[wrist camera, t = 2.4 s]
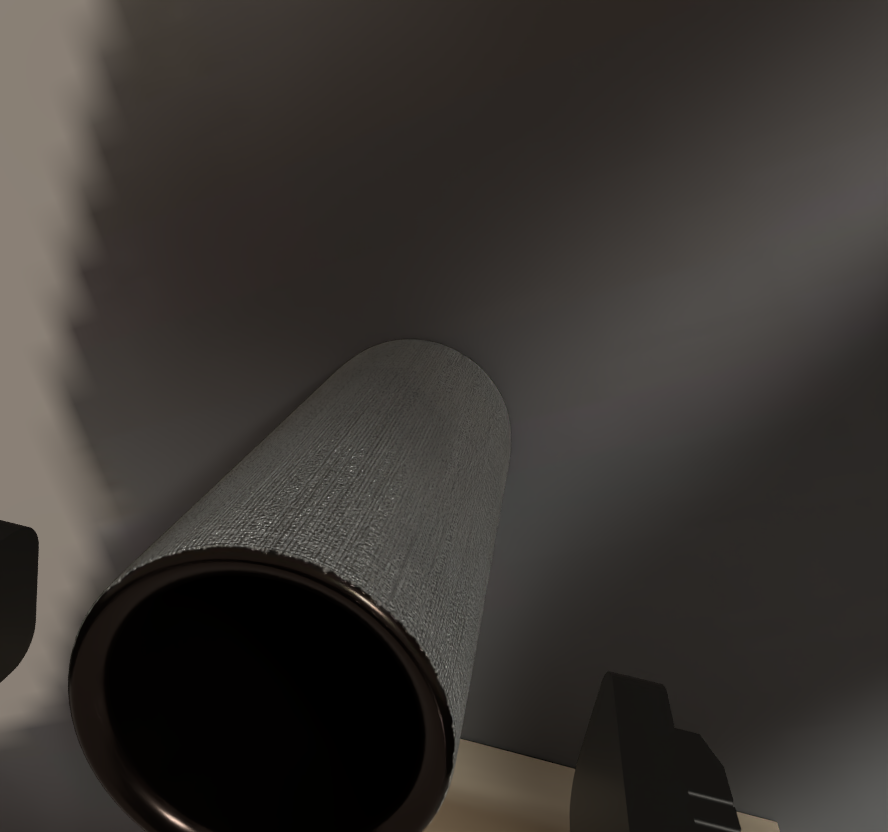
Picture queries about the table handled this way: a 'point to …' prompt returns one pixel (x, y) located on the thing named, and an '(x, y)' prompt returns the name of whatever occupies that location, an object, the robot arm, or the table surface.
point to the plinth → (518, 795)
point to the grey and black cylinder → (308, 615)
